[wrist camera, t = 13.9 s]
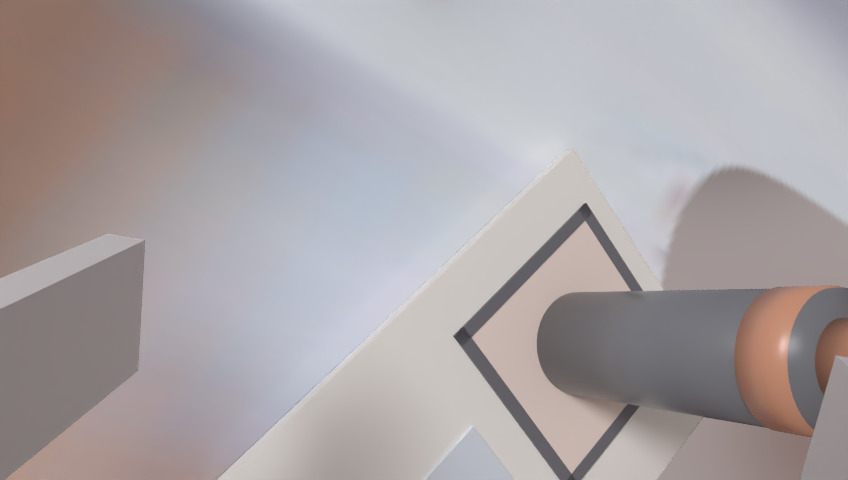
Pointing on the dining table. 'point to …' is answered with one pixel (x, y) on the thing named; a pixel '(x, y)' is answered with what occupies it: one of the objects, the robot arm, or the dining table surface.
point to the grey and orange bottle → (701, 350)
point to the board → (483, 365)
